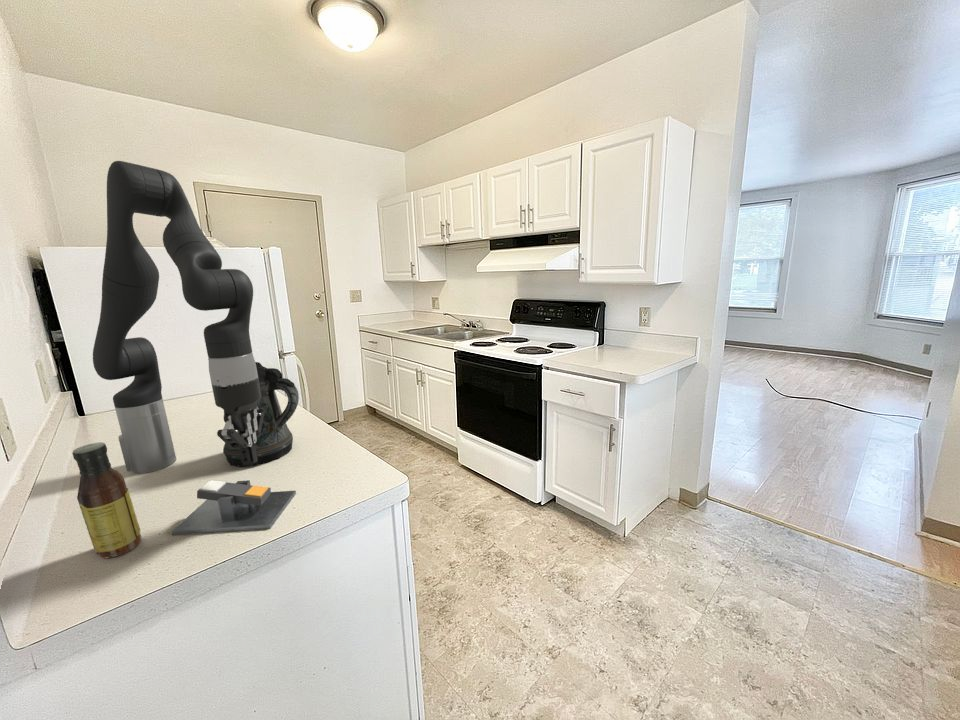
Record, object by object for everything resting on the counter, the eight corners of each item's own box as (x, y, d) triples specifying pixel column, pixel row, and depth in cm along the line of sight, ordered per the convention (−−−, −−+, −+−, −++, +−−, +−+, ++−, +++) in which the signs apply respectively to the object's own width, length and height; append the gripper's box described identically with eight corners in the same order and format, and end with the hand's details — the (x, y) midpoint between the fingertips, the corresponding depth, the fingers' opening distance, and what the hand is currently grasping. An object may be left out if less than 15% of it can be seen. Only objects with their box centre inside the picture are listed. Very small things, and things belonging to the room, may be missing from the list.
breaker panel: (172, 535, 73) (166, 510, 72) (211, 499, 85) (207, 477, 84) (270, 528, 74) (265, 503, 73) (296, 493, 86) (292, 472, 85)
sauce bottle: (116, 538, 73) (88, 439, 69) (151, 535, 74) (126, 436, 69) (84, 563, 67) (52, 456, 63) (123, 560, 67) (94, 452, 63)
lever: (197, 498, 76) (197, 489, 76) (209, 487, 80) (210, 478, 80) (260, 505, 77) (261, 497, 77) (270, 494, 81) (270, 486, 81)
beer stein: (228, 449, 111) (211, 362, 105) (303, 434, 119) (291, 353, 114) (222, 474, 96) (202, 375, 91) (307, 455, 105) (294, 363, 99)
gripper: (234, 370, 80) (248, 449, 84) (191, 389, 67) (210, 481, 71) (271, 368, 80) (284, 447, 84) (236, 387, 68) (252, 479, 71)
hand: (250, 462), depth 78 cm, fingers closed
